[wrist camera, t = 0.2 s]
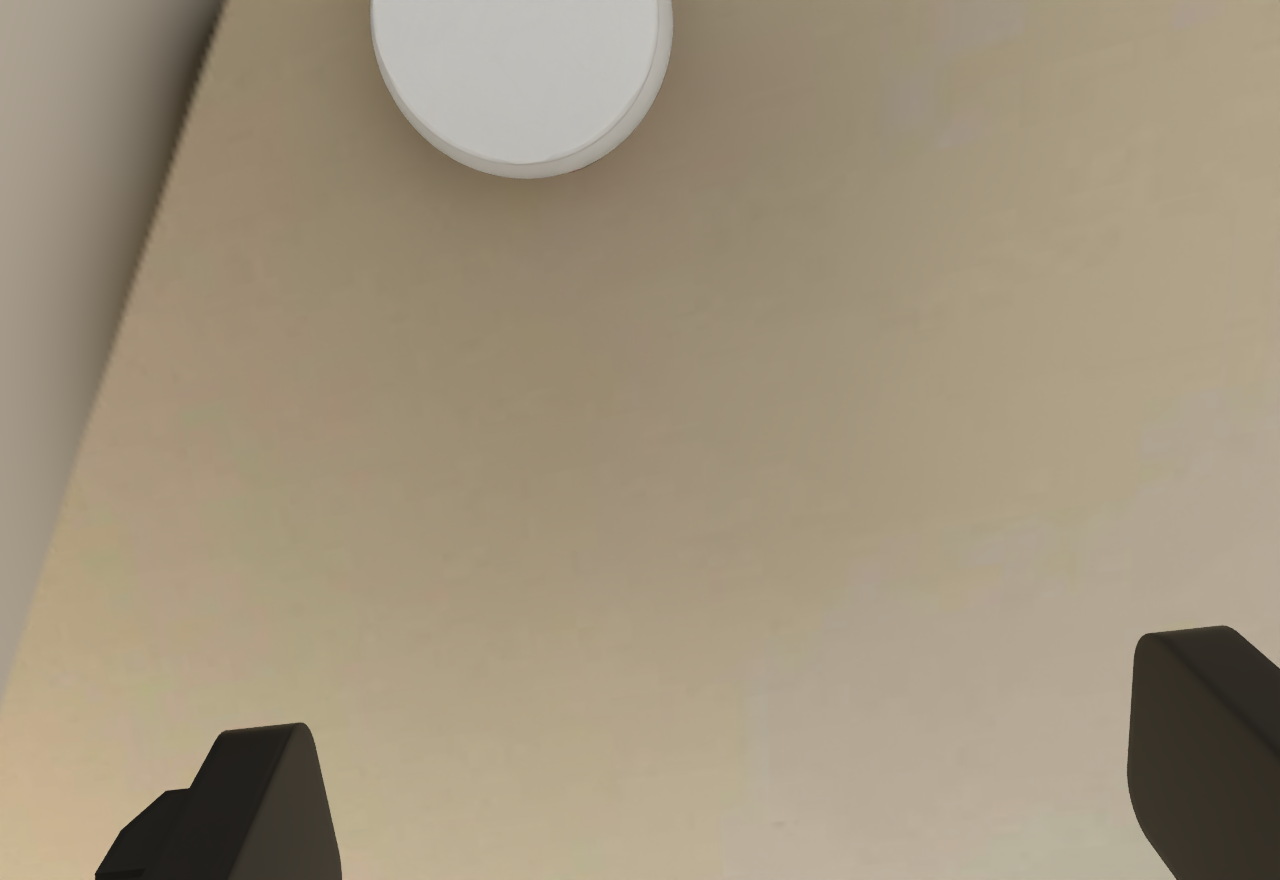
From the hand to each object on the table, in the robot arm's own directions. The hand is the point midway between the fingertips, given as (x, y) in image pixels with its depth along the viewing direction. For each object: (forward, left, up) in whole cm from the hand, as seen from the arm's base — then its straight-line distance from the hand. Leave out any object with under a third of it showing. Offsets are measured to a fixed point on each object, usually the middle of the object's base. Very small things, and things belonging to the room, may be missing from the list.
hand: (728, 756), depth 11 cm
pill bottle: (-7, -2, -20) cm, 21 cm away
